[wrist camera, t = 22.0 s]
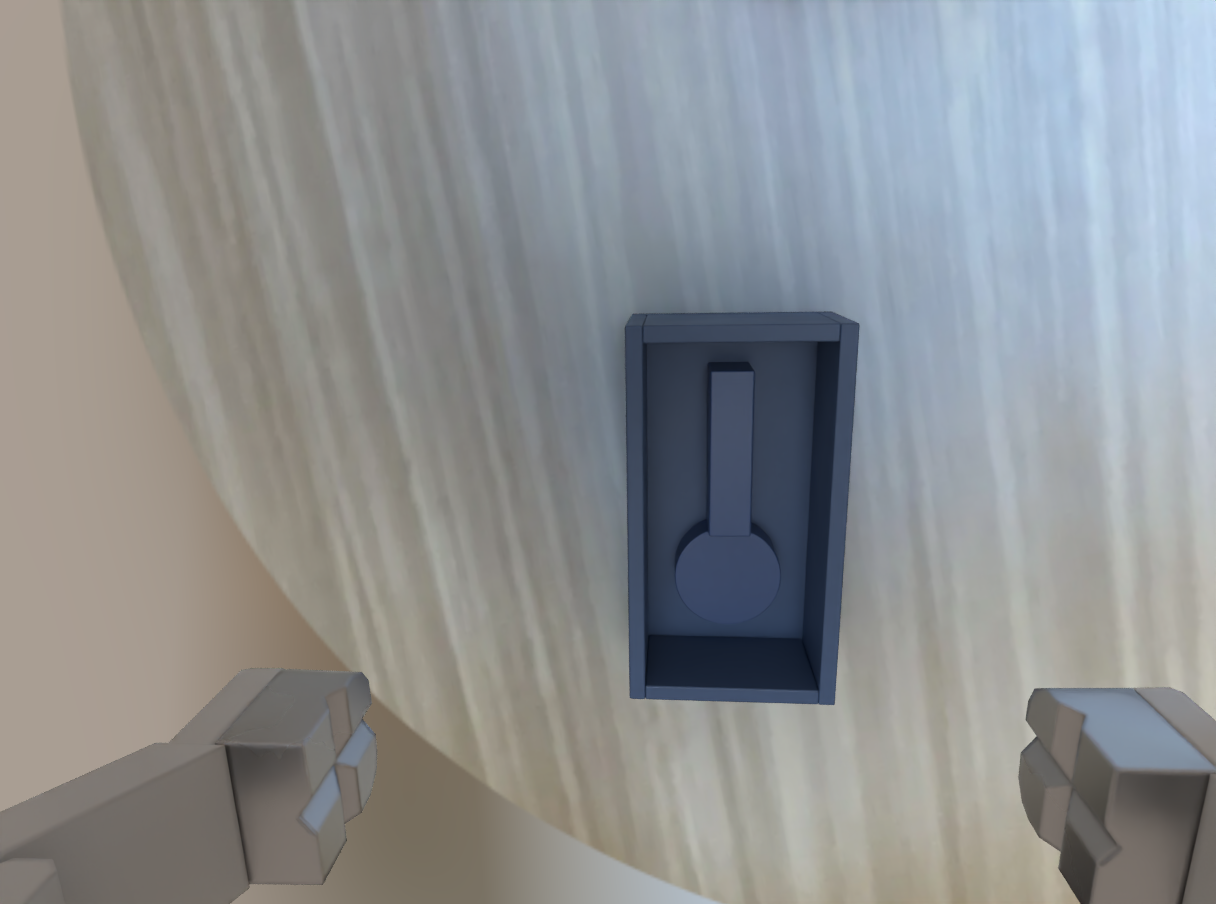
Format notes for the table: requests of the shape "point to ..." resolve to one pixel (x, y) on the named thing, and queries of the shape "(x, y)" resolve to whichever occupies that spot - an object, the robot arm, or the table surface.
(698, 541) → the blue spoon
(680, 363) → the blue bin
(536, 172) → the table surface
